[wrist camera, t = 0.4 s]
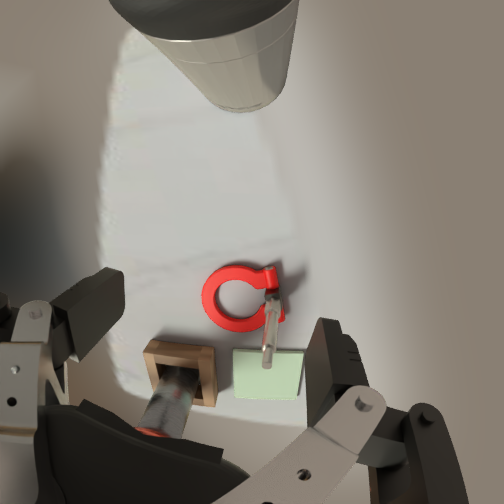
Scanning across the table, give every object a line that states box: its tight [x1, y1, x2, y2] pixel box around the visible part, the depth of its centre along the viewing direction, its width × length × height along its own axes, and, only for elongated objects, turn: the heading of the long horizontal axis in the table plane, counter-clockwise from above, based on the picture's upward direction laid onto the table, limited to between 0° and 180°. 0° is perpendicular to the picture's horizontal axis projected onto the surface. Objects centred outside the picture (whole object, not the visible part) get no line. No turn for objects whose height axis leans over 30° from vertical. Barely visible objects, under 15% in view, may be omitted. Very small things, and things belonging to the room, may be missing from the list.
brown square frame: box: [143, 340, 218, 407], centre depth 34 cm, size 9×9×3 cm
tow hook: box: [202, 265, 285, 369], centre depth 26 cm, size 8×13×9 cm
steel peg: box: [134, 365, 200, 439], centre depth 28 cm, size 7×7×15 cm
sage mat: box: [233, 349, 304, 400], centre depth 35 cm, size 9×9×1 cm
